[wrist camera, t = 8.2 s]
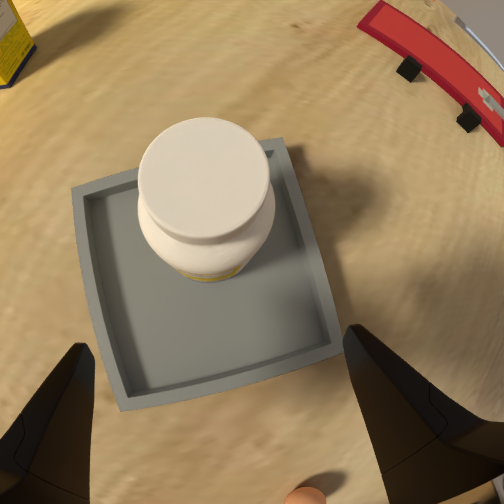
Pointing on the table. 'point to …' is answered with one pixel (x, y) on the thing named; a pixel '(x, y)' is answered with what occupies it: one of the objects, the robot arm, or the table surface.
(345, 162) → the table surface
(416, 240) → the table surface
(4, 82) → the supplement box
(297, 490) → the orange ball
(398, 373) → the robot arm
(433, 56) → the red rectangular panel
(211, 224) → the supplement bottle
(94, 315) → the tray
